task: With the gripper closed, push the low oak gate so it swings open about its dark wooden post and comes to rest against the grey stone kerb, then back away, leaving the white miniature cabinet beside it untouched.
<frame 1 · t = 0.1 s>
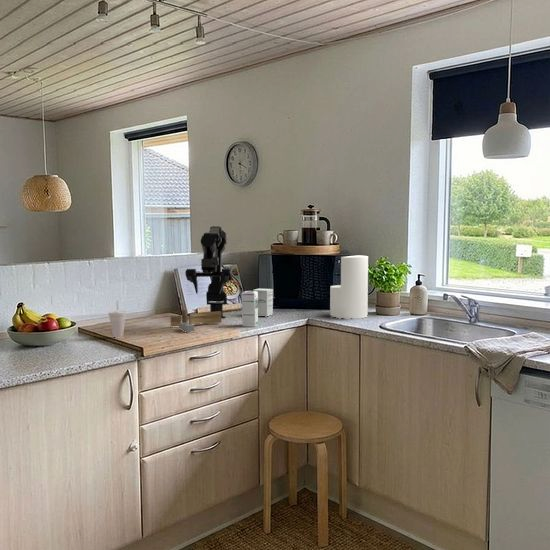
hand: (208, 293, 227), 15 cm above the countertop, tool tilted 30°, fingers open, 9 cm apart
white miniature cabinet: (250, 326, 238), on the countertop
gate: (205, 318, 239), point 3 cm above the countertop, hinge at 0.0°
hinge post: (184, 326, 235), on the countertop
supplement box: (263, 316, 264), on the countertop
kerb: (186, 330, 226), on the countertop
smoothie: (118, 338, 212), on the countertop
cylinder: (348, 316, 262), on the countertop
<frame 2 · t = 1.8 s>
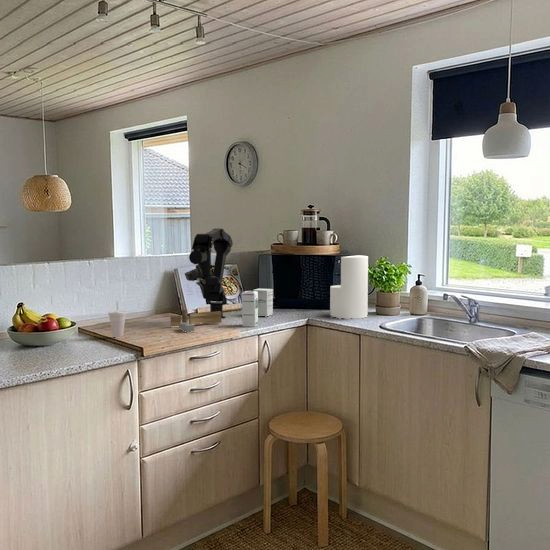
hand: (204, 298, 244), 11 cm above the countertop, tool pointing down, fingers closed
nothing on the countertop moved.
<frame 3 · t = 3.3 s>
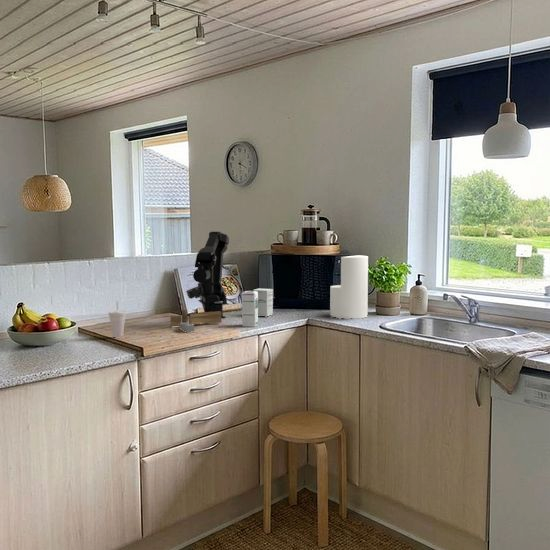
hand: (206, 316, 242), 3 cm above the countertop, tool pointing down, fingers closed
gate: (205, 318, 239), point 3 cm above the countertop, hinge at 0.0°, touching gripper
everything else where it was.
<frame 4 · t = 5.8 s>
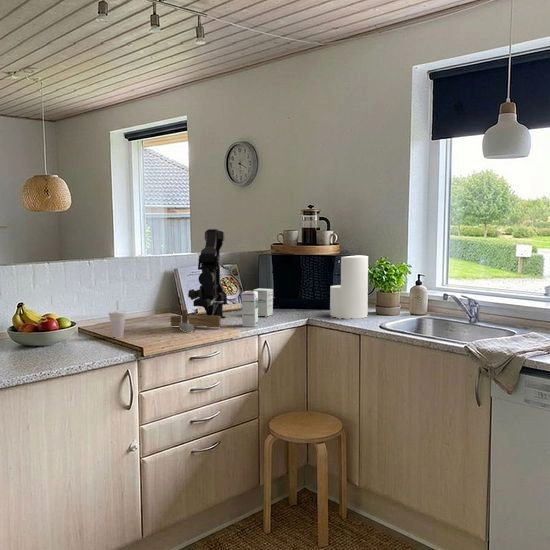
hand: (209, 320, 233), 3 cm above the countertop, tool pointing down, fingers closed
gate: (204, 321, 232), point 3 cm above the countertop, hinge at 49.3°, touching gripper
everything else where it was.
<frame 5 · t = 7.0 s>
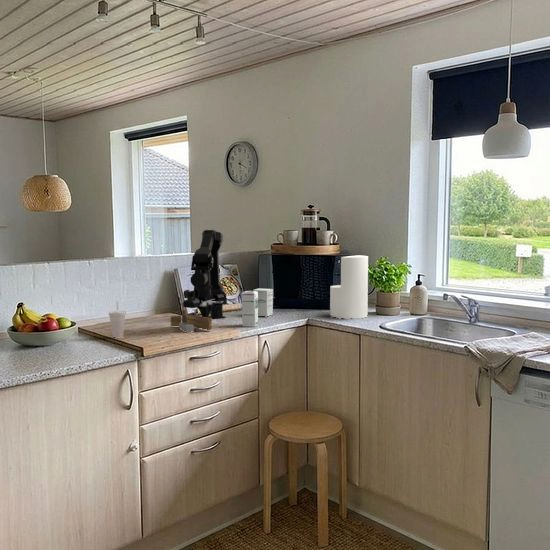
hand: (205, 321, 229), 3 cm above the countertop, tool pointing down, fingers closed
gate: (199, 322, 229), point 3 cm above the countertop, hinge at 71.3°, touching gripper
everything else where it was.
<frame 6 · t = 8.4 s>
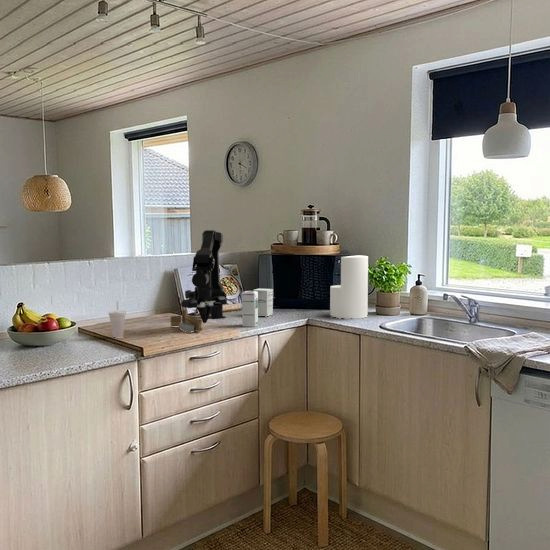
hand: (204, 322, 228), 3 cm above the countertop, tool pointing down, fingers closed
gate: (193, 323, 227), point 3 cm above the countertop, hinge at 88.3°
everything else where it was.
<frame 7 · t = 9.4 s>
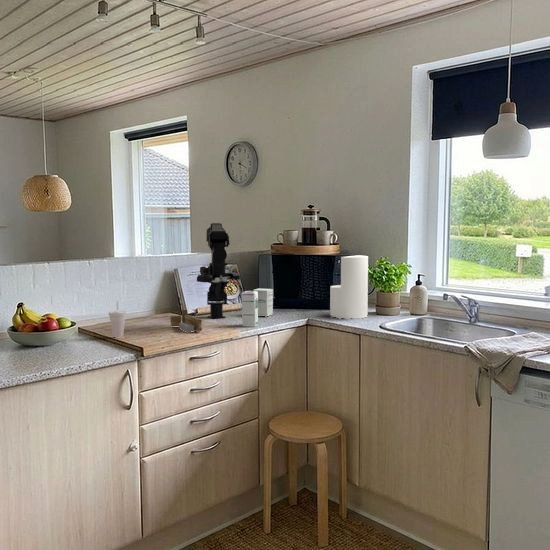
hand: (218, 298, 235), 12 cm above the countertop, tool pointing down, fingers closed
nothing on the countertop moved.
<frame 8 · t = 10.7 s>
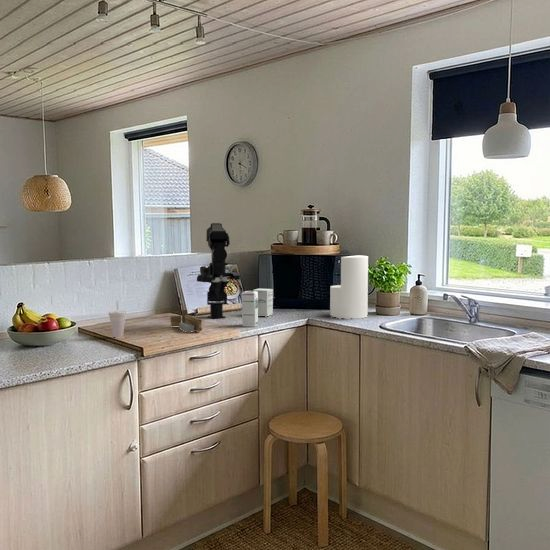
hand: (219, 297, 235), 12 cm above the countertop, tool pointing down, fingers closed
nothing on the countertop moved.
at the end: gate at +88° (first picture: +0°); white miniature cabinet moved 0.2 cm from its start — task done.
